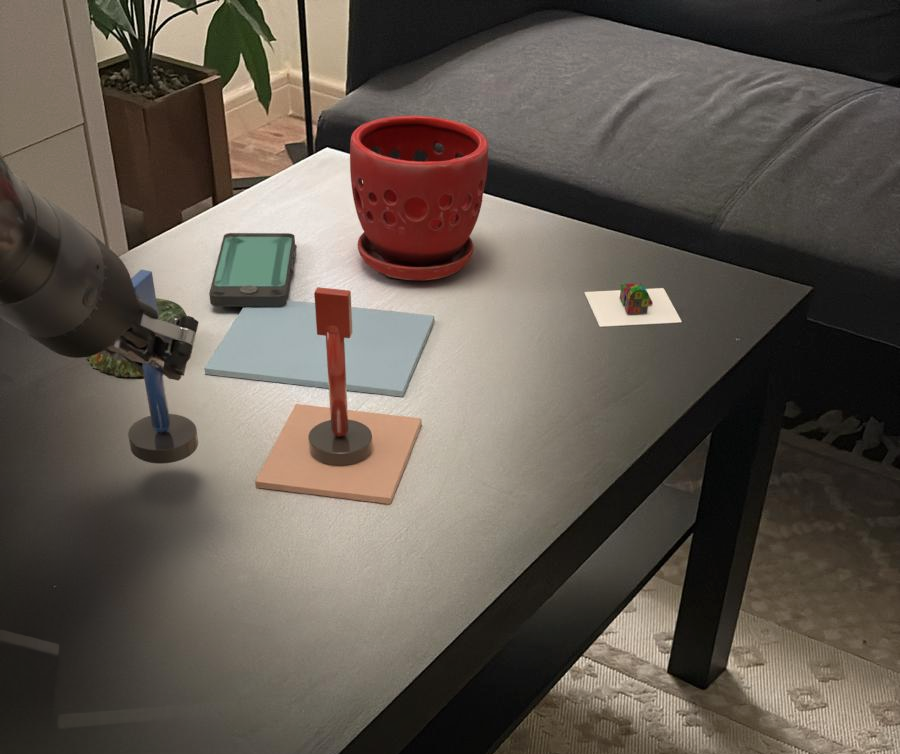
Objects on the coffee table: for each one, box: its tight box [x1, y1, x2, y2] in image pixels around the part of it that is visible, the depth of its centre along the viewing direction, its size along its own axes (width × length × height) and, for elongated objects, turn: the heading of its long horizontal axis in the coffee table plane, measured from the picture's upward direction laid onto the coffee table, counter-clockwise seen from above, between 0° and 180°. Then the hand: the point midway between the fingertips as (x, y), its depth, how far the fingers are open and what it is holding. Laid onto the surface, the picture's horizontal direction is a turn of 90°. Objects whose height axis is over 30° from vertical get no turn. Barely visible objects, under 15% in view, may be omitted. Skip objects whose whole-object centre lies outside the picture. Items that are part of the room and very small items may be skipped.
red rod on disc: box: [308, 286, 373, 466], centre depth 100 cm, size 5×5×13 cm
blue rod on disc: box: [127, 269, 199, 465], centre depth 94 cm, size 5×5×13 cm
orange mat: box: [254, 403, 422, 505], centre depth 105 cm, size 11×12×1 cm
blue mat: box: [203, 299, 435, 398], centre depth 117 cm, size 18×14×1 cm
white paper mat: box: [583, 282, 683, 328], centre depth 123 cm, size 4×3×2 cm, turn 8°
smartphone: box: [208, 232, 297, 307], centre depth 126 cm, size 7×1×15 cm
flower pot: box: [349, 115, 489, 281], centre depth 125 cm, size 13×13×12 cm
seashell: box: [86, 297, 188, 379], centre depth 115 cm, size 10×4×10 cm
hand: (166, 364), depth 96 cm, fingers closed on blue rod on disc, 1 cm apart
